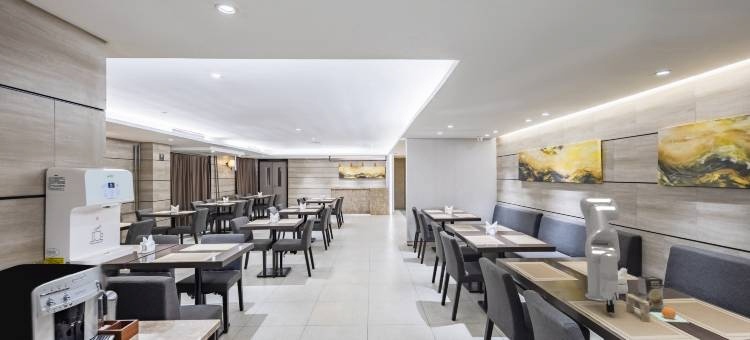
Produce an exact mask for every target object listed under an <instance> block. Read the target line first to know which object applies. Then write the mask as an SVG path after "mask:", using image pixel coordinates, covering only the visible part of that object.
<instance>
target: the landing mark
mask: <svg viewBox="0 0 750 340" xmlns="http://www.w3.org/2000/svg"><path fill="white" fill-rule="evenodd" d="M649 312H650V311H649ZM650 316H653V317H654V318H656V319H658V320H659V321H661V322H666V323H667V322H669V323H690V321H688V320H687V319H684V318H682V317H681V316H679V315H677V314H676V315H675V317H674V318H672V319H668V318H666V317H664V316H663V315H662V312H656V311H651V312H650Z"/></svg>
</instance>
